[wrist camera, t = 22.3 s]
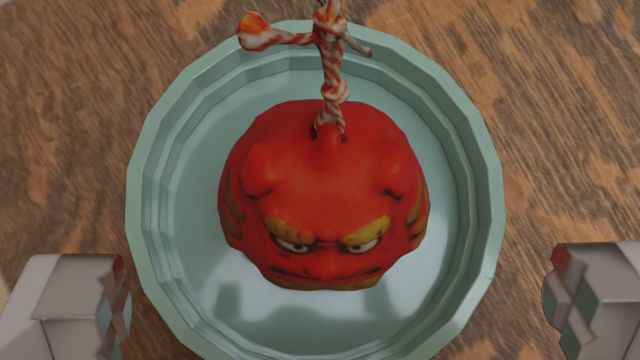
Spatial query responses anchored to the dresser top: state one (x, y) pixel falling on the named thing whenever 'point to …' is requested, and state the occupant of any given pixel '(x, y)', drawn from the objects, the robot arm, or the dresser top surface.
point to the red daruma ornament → (321, 176)
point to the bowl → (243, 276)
